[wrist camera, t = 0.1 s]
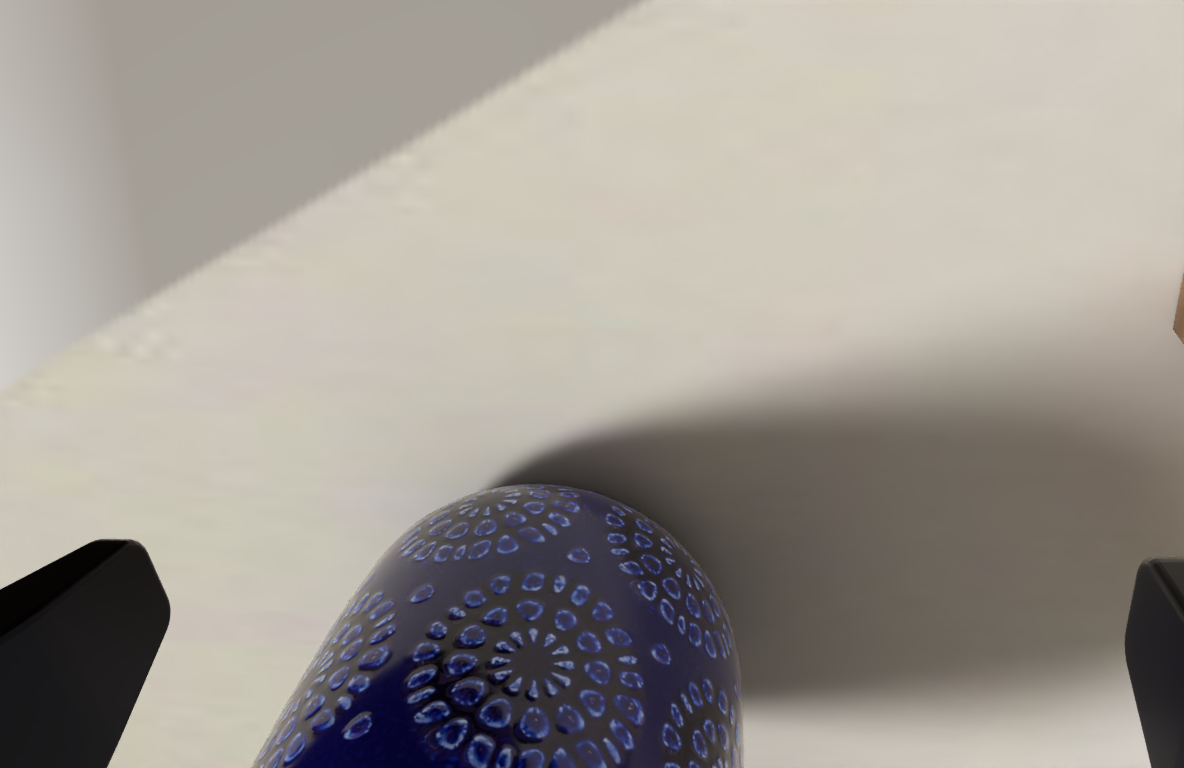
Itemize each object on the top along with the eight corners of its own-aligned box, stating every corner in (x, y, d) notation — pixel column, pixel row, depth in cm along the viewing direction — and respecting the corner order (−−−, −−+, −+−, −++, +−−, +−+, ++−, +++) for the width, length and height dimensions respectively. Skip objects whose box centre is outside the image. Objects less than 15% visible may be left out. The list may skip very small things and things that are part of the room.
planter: (812, 507, 26) (823, 913, 16) (684, 755, 32) (638, 1161, 22) (421, 378, 26) (207, 708, 16) (366, 649, 32) (184, 1007, 22)
